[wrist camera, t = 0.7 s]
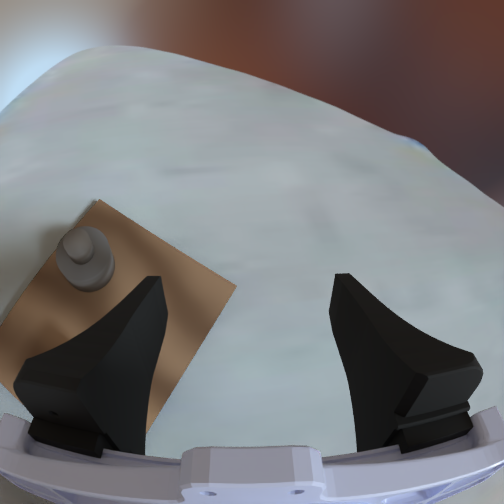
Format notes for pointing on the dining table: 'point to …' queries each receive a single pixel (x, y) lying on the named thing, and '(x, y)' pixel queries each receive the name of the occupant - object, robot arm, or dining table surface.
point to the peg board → (112, 297)
